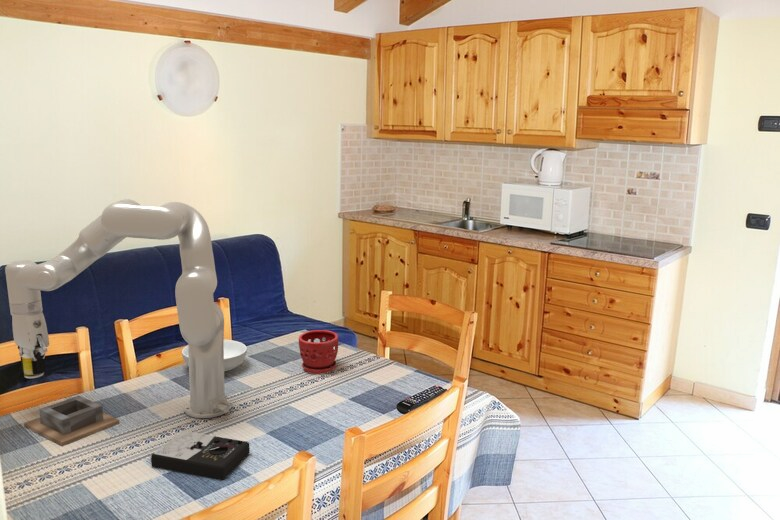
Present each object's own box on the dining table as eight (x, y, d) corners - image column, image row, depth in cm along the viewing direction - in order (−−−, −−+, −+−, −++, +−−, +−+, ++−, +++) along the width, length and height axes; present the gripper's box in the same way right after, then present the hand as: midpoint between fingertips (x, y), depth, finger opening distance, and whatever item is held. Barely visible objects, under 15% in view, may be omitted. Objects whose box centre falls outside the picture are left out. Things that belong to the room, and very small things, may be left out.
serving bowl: (238, 381, 203) (238, 360, 202) (173, 379, 203) (172, 358, 202) (253, 358, 223) (253, 339, 222) (194, 356, 224) (193, 337, 222)
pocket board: (119, 423, 172) (118, 405, 171) (61, 446, 159) (60, 427, 158) (81, 406, 182) (80, 389, 181) (24, 426, 169) (22, 408, 168)
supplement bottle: (35, 379, 172) (31, 350, 170) (20, 378, 173) (16, 348, 171) (48, 373, 177) (44, 344, 175) (33, 371, 178) (29, 343, 176)
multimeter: (223, 482, 146) (222, 462, 145) (150, 468, 151) (149, 449, 150) (250, 455, 158) (250, 436, 157) (182, 443, 163) (181, 425, 162)
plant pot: (304, 361, 222) (304, 328, 219) (341, 364, 220) (342, 330, 218) (294, 375, 209) (293, 340, 207) (333, 378, 207) (333, 343, 205)
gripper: (57, 308, 169) (64, 373, 173) (24, 299, 179) (31, 361, 182) (28, 315, 163) (36, 382, 167) (-5, 305, 172) (4, 369, 176)
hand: (33, 370), depth 174 cm, fingers closed on supplement bottle, 4 cm apart
